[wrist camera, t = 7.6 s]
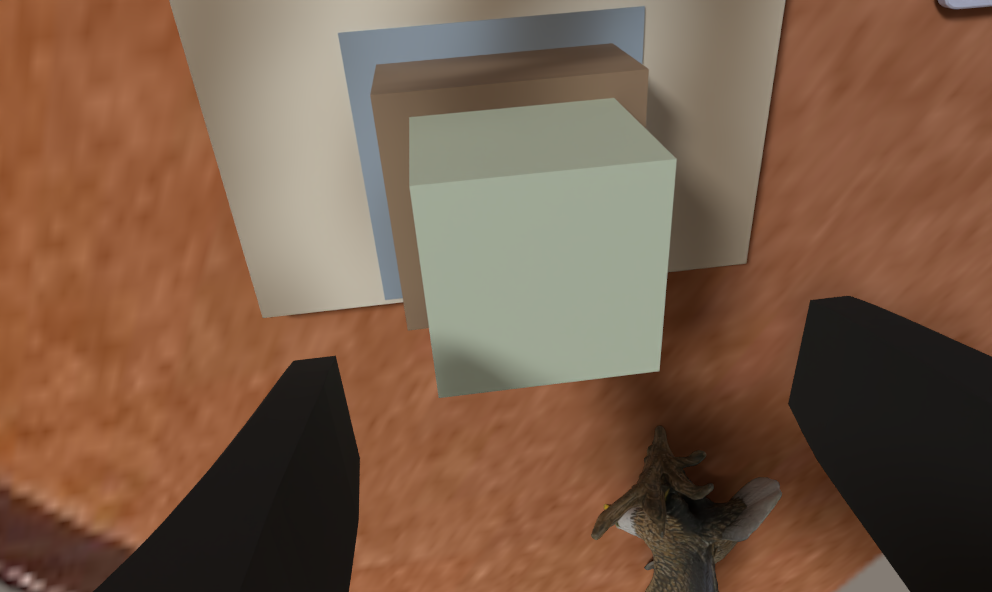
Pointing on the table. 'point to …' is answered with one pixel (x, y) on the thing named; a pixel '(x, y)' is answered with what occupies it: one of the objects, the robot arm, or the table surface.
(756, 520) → the eagle figurine
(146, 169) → the table surface
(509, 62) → the walnut block
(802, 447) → the table surface
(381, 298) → the build plate
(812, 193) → the table surface
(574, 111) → the green block
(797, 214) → the table surface
